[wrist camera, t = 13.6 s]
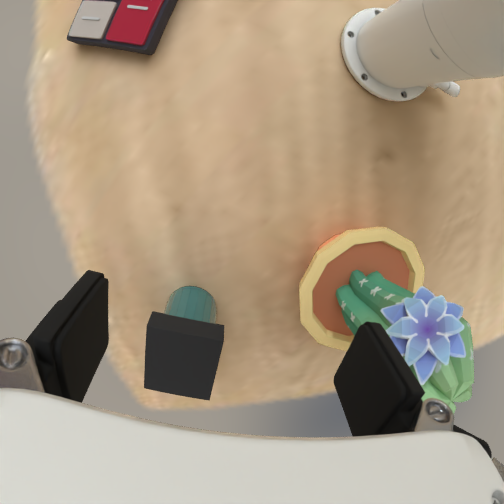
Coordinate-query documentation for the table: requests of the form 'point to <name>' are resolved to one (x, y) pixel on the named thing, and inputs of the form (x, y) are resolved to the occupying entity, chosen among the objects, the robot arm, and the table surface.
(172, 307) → the cup
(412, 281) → the potted cactus
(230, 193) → the table surface
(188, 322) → the black box
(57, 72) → the table surface
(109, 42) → the calculator
